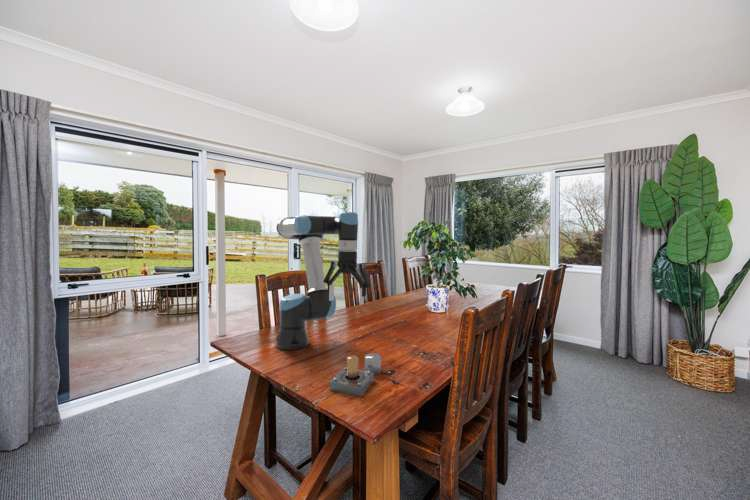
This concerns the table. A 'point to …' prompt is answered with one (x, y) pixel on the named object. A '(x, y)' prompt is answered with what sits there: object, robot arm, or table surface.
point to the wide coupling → (373, 363)
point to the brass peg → (352, 367)
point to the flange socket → (352, 382)
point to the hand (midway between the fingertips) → (346, 302)
